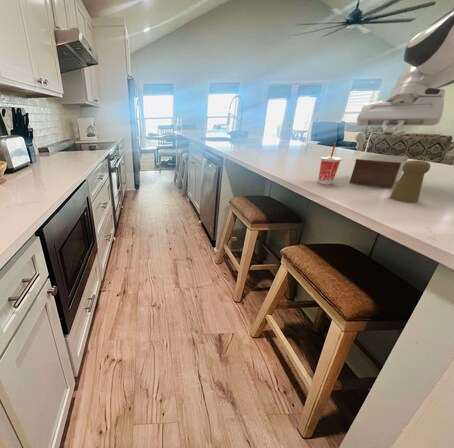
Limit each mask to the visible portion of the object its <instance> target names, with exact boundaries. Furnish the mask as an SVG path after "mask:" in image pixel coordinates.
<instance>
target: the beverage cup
mask: <svg viewBox="0 0 454 448" xmlns="http://www.w3.org/2000/svg"><path fill="white" fill-rule="evenodd" d="M335 148H336V142H334V143H333V147H332V150H331V154H330V156H322V157H320V166H319V172H318V178H317V183H318V184H321V185H332V184H334V180H335V177H336V176H337V175H336V174H337V172H338V169H339V165H340V163H341V162H342V159H343V158H341V157H338V156H334V152H335Z"/></svg>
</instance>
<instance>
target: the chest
mask: <svg viewBox="0 0 454 448" xmlns="http://www.w3.org/2000/svg"><path fill="white" fill-rule="evenodd" d="M406 162H408V159H407V160H406V161H404V162H403V163H402V164H401V165H392V164H380V163H368V162H357V161H356V160H355V163H354V167H353V169H352V173H351V177H350V179H349V184H356V185H362V186H371V187H378V188H385V189H391V190H392V189H393V188H395V187H396V185H397V183H398V181H399V180H400V178H401V176H402V174H403V173H404V171H403V166H404V164H405V163H406Z"/></svg>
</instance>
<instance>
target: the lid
mask: <svg viewBox="0 0 454 448" xmlns="http://www.w3.org/2000/svg"><path fill="white" fill-rule="evenodd" d="M408 159H409V156H406V155H393V154H392V155H391V154H375V153H374V154H373V153H366V154H363V155H361V156H359V157H358V158H355V162H356V161H357V162H368V163H380V164H392V165H401V164H402V163H403V162H404V161H406V160H407V161H408Z"/></svg>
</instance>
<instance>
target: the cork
mask: <svg viewBox="0 0 454 448" xmlns="http://www.w3.org/2000/svg"><path fill="white" fill-rule="evenodd" d="M430 170H431V163H430V162H428V161H425V160H407V162H406V163H405V164H404V166H403V172H402V175H401V178H400V180H399V181H398V183H397V184H396V185H395V186H394V187H393V188H394V189H393V190H392V192H391V193H390V196H389V199H391V200H393V201H395V202H396V201H397V202H402V203H410V204H411V203H412V204H413V203H418V202H419V199H420V195H421V190H422V186H423V181H424V177H425V174H426V173H428V172H429V171H430Z"/></svg>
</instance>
